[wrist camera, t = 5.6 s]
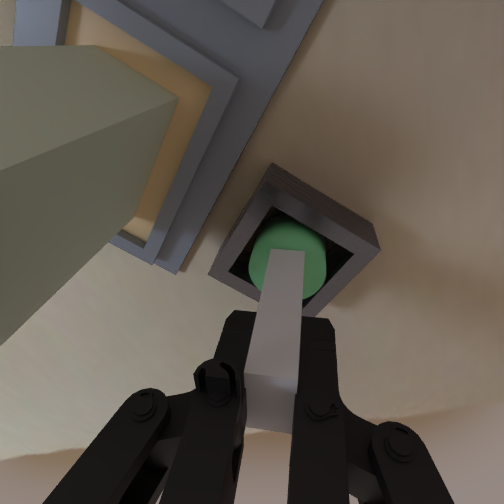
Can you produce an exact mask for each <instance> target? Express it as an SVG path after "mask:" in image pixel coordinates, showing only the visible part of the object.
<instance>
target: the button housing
mask: <svg viewBox="0 0 504 504" xmlns="http://www.w3.org/2000/svg"><path fill="white" fill-rule="evenodd" d="M271 206H274V207H276V208H277V209H279V210H281V211H283V212H284V213H286V214H288V215H289V216H291V217H293V218H294V219H296V220H298V221H300V222H301V223H303V224H305V225H306V226H308V227H310V228H311V229H313V230H315V231H316V232H318V233H320V234H322V235H323V236H325V237H327V238H328V239H330V240H332V241H333V242H335V243H336V244H335V246H334V247H333V248H332V249H331V250H330V251H329V252H328V254H327V255H326V278H325V281H324V283H323V285H322V286H321V288H320V289H319V290H318V291H317V292H316V293H314V294H313V295H311V296H310V297H308V298H305V299H302V314H301V316H307V317H315V316H316V315H317V314H318V313H319V312H320V311H321V310H322V309H323V308H324V307H325V306H326V305H327V304H328V303H329V302H330V301H331V300H332V299H333V298H334V297H335V296H336V295H337V294H338V293H339V292H340V291H341V290H342V289H343V288H344V287H345V286H346V285H347V284H348V283H349V282H350V281H351V280H352V279H353V278H354V277H355V276H356V275H357V274H358V273H359V272H360V271H361V270H362V269H363V268H364V267H365V266H366V265H367V264H368V263H369V262H370V261H371V260H372V259H373V258H374V257H375V256H376V255H377V254H378V253H379V252H380V251H381V249H380V246H379V243H378V240H377V236H376V233H375V230H374V227H373V224H371V223H370V222H368V221H367V220H365V219H363V218H362V217H360V216H358V215H357V214H355V213H354V212H352V211H350V210H349V209H347V208H345V207H344V206H342V205H340V204H339V203H337V202H336V201H334V200H332V199H331V198H329V197H327V196H326V195H324V194H322V193H321V192H319V191H318V190H316V189H314V188H313V187H311V186H309V185H308V184H306V183H304V182H303V181H301V180H300V179H298V178H296V177H295V176H293V175H291V174H290V173H288V172H287V171H285V170H283V169H282V168H280V167H278V166H277V165H275V164H273V163H272V164H271V165H270V167H269V169H268V170H267V172H266V174H265V175H264V177H263V179H262V180H261V182H260V183H259V185H258V187H257V188H256V190H255V192H254V193H253V195H252V197H251V198H250V200H249V202H248V203H247V205H246V206H245V208H244V210H243V211H242V213H241V215H240V216H239V218H238V220H237V221H236V223H235V225H234V226H233V228H232V230H231V231H230V233H229V234H228V236H227V238H226V239H225V241H224V243H223V244H222V246H221V248H220V249H219V251H218V254H217V256H216V258H215V260H214V262H213V264H212V266H211V269H210V271H209V273H208V275H209V276H211V277H213V278H215V279H217V280H219V281H220V282H222V283H224V284H226V285H228V286H230V287H232V288H233V289H235V290H237V291H239V292H241V293H243V294H245V295H246V296H248V297H250V298H252V299H254V300H256V301H258V302H259V301H260V296H261V291H260V290H259V289H258V288H257V287H256V286H255V285H254V283H253V282H252V280H251V277H250V274H249V261H250V258H251V253H249V252H247V251H245V250H243V248H244V247H245V245H246V244H247V242H248V241H249V239H250V238H251V236H252V235H253V233H254V232H255V230H256V229H257V227H258V226H259V224H260V223H261V221H262V220H263V218H264V217H265V215H266V214H267V212H268V211H269V209H270V208H271Z"/></svg>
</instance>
